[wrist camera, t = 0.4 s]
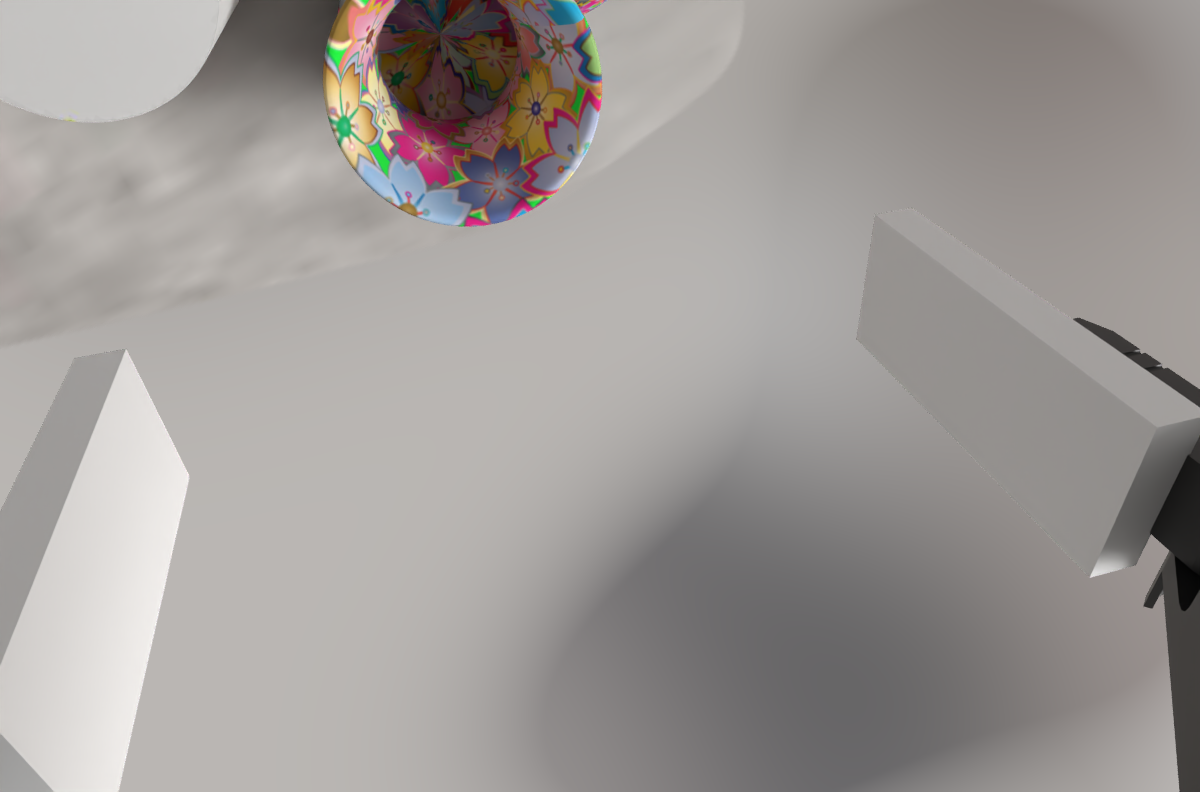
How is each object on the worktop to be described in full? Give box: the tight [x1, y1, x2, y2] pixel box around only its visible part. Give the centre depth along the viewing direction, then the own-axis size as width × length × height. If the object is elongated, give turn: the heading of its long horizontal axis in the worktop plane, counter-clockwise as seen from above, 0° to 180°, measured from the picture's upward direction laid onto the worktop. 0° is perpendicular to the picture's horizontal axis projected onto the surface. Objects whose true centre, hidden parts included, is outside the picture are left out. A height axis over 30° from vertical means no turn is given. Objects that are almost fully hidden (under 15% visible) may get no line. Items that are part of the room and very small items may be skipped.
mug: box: [323, 0, 607, 226], centre depth 31 cm, size 12×9×11 cm
